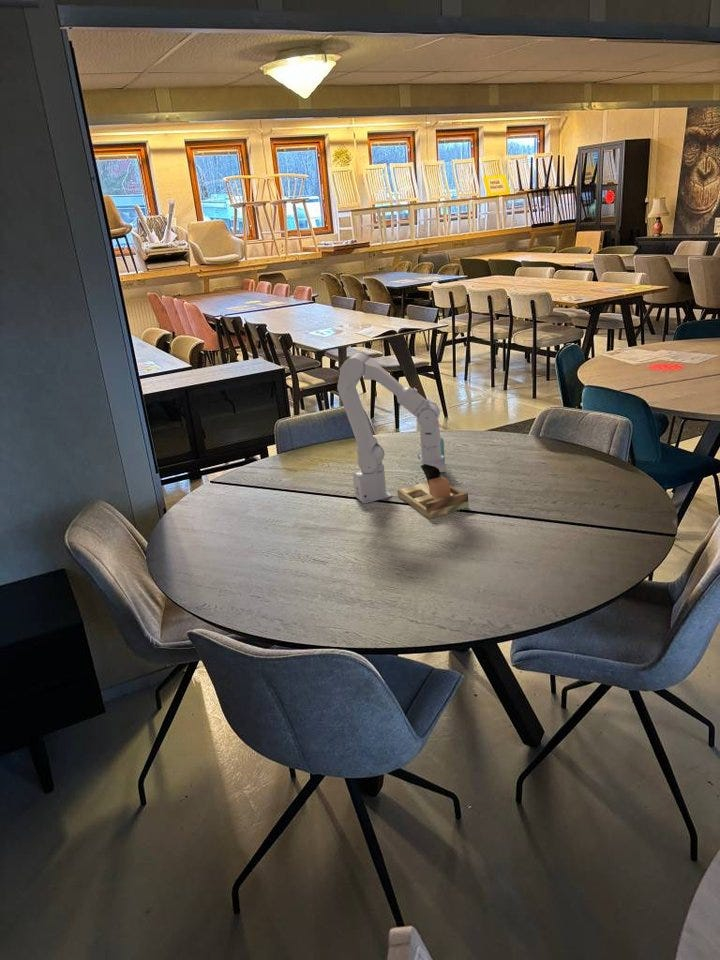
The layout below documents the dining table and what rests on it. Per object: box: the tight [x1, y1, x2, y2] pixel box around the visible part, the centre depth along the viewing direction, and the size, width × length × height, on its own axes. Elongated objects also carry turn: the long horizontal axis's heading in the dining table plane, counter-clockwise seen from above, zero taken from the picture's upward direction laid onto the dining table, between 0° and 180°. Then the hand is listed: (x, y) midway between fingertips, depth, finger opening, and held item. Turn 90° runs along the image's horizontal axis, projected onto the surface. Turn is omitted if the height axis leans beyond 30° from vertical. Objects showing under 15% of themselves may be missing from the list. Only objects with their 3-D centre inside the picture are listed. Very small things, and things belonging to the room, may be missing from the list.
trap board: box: [397, 481, 469, 519], centre depth 199 cm, size 13×20×4 cm, turn 22°
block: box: [429, 476, 451, 499], centre depth 199 cm, size 4×4×4 cm
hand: (433, 487), depth 202 cm, fingers closed
